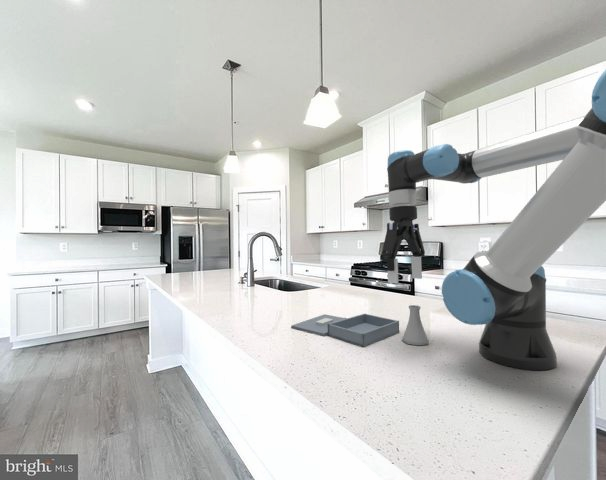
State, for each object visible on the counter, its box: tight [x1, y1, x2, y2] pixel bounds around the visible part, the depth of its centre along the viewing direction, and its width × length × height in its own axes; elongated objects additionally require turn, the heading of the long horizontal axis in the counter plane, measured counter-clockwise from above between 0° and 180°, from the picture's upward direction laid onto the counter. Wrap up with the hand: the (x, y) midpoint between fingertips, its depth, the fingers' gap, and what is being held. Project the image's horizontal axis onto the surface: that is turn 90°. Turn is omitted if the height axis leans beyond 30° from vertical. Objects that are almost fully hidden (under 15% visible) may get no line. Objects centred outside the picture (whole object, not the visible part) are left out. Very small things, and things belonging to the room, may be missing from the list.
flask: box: [401, 304, 429, 346], centre depth 83 cm, size 7×7×10 cm
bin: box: [327, 313, 400, 348], centre depth 90 cm, size 13×18×4 cm
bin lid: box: [290, 313, 347, 337], centre depth 100 cm, size 14×19×2 cm
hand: (405, 280), depth 84 cm, fingers open, 13 cm apart
